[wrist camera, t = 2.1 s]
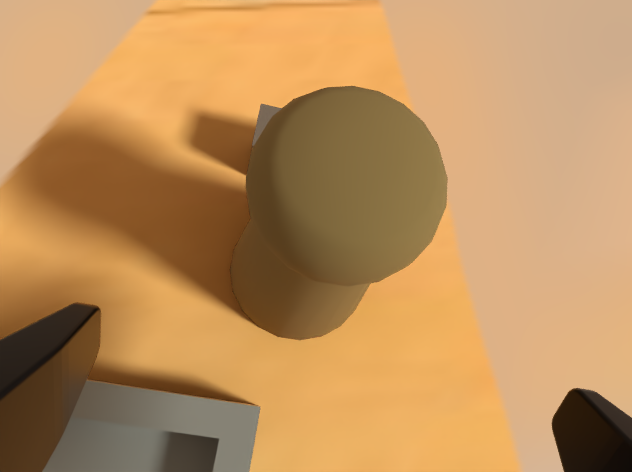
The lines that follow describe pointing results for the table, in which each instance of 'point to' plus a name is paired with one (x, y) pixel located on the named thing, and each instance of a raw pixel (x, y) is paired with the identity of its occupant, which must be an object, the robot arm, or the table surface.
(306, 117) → the cork
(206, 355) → the table surface
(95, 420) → the tray
